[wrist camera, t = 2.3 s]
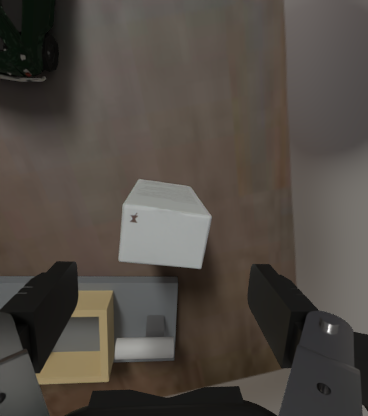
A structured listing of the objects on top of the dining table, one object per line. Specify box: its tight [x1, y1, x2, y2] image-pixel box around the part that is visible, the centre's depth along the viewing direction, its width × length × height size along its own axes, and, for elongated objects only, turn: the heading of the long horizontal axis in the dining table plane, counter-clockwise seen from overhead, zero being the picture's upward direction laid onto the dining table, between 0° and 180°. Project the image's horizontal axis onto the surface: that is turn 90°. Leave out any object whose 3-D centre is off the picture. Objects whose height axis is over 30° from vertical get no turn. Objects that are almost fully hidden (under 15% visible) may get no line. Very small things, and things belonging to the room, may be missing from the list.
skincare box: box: [118, 179, 212, 269], centre depth 22 cm, size 6×4×12 cm
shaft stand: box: [0, 276, 178, 384], centre depth 28 cm, size 24×11×6 cm, turn 87°
